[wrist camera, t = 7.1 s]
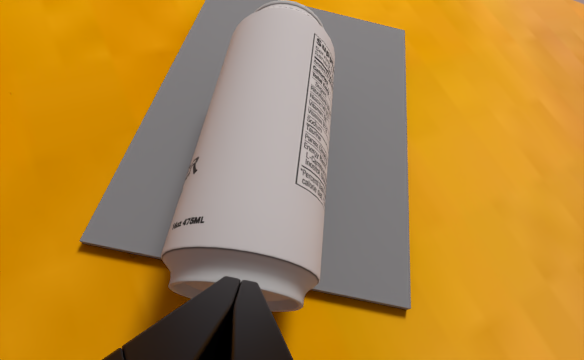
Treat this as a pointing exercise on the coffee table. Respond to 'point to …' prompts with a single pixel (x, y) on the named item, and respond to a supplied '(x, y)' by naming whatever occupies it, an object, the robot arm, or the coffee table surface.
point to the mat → (341, 159)
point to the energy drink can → (260, 163)
